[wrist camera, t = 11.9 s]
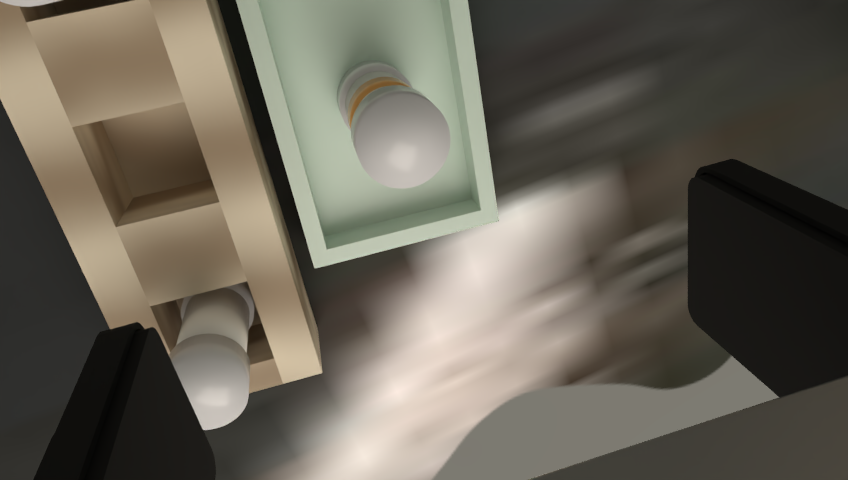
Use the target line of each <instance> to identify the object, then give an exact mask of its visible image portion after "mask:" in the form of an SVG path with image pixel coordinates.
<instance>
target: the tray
mask: <svg viewBox="0 0 848 480" xmlns="http://www.w3.org/2000/svg"><path fill="white" fill-rule="evenodd" d="M236 2H237V6H238V9H239V12H240V16H241V19H242V23H243V26H244V29H245V33H246V36H247V40H248V43H249V47H250V50H251V53H252V57H253V60H254V64H255V67H256V70H257V74H258V77H259V81H260V84H261V88H262V91H263V94H264V98H265V101H266V105H267V108H268V111H269V115H270V118H271V122H272V125H273V129H274V132H275V135H276V139H277V142H278V146H279V149H280V152H281V156H282V159H283V163H284V166H285V169H286V173H287V176H288V180H289V183H290V187H291V190H292V193H293V197H294V200H295V204H296V207H297V210H298V214H299V217H300V221H301V224H302V228H303V231H304V234H305V238H306V241H307V245H308V248H309V251H310V255H311V258H312V262H313V265H314V268H319V267H323V266H327V265H331V264H334V263H338V262H342V261H346V260H350V259H354V258H358V257H362V256H365V255H369V254H373V253H377V252H381V251H385V250H389V249H393V248H396V247H400V246H404V245H408V244H412V243H416V242H420V241H424V240H427V239H431V238H435V237H439V236H443V235H447V234H451V233H455V232H458V231H462V230H466V229H470V228H474V227H478V226H482V225H486V224H489V223H493V222H497V221H499V218H498V211H497V204H496V197H495V190H494V183H493V176H492V169H491V162H490V155H489V148H488V140H487V133H486V126H485V119H484V112H483V105H482V98H481V91H480V84H479V77H478V70H477V63H476V56H475V49H474V41H473V34H472V27H471V20H470V13H469V6H468V0H236ZM368 60H379V61H383V62H386V63H388V64H390V65H392V66H393V67H395V68H396V69H397V70H398V71H399V72H400V73H401V74H402V75H403V76H404V77H405V78H406V79H407V80H408V81H409V82H410V84H411V86H412V87H413V89H415V90H417V91H419V92H420V93H422V94H423V95H424V96H425V97H426V98H428V99H429V100H430V101H431V102H432V103H433V104H434V105H435V106H436V107H437V108H438V109H439V110H440V111H441V113H442V114H443V115H444V117H445V119H446V121H447V124H448V126H449V130H450V149H449V153H448V156H447V159H446V161H445V163H444V164H443V166H442V168H441V169H440V170H439V171H438V172H437V173H436V175H435V176H433V177H432V178H431V179H430V180H428V181H426V182H425V183H423V184H421V185H418V186H415V187H411V188H402V189H400V188H392V187H388V186H385V185H382V184H380V183H378V182H377V181H375V180H374V179H373V178H371V177H370V176H369V175H368V174H367V172H366V171H365V170H364V168H363V167H362V165H361V163H360V161H359V158H358V156H357V153H356V151H355V148H354V146H353V142H352V138H351V131H350V130H349V129H348V127H347V126H346V124H345V122H344V120H343V118H342V115H341V113H340V110H339V107H338V103H337V90H338V86H339V83H340V81H341V79H342V77H343V76H344V74H345V73H346V72H347V71H348V70H349V69H350V68H351V67H353V66H354V65H356V64H358V63H360V62H363V61H368Z"/></svg>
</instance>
